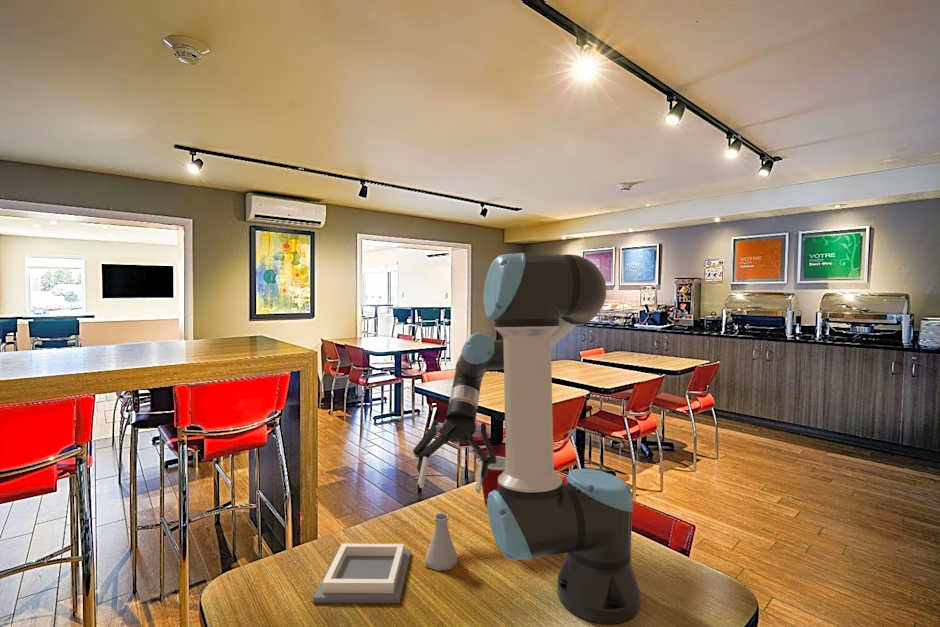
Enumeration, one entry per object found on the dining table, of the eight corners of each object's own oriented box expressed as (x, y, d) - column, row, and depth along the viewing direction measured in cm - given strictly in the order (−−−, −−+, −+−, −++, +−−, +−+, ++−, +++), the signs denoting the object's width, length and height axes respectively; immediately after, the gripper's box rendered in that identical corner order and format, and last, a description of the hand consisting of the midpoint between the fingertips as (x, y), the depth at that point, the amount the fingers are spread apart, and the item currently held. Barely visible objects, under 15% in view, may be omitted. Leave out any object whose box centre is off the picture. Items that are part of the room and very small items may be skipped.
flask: (453, 574, 96) (454, 526, 95) (420, 569, 97) (419, 522, 97) (461, 554, 103) (461, 509, 102) (429, 550, 104) (429, 506, 104)
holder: (410, 553, 103) (410, 540, 103) (399, 603, 87) (399, 587, 87) (337, 553, 103) (337, 540, 103) (313, 602, 87) (312, 587, 87)
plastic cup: (523, 501, 128) (523, 458, 127) (504, 517, 119) (504, 471, 118) (488, 491, 134) (489, 450, 133) (468, 507, 125) (468, 462, 124)
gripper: (512, 417, 122) (504, 499, 108) (419, 411, 127) (401, 489, 113) (509, 402, 116) (501, 486, 102) (413, 397, 121) (393, 477, 107)
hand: (448, 488), depth 107 cm, fingers open, 13 cm apart
